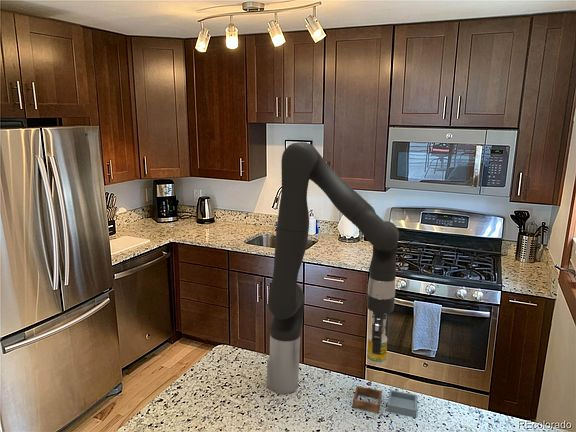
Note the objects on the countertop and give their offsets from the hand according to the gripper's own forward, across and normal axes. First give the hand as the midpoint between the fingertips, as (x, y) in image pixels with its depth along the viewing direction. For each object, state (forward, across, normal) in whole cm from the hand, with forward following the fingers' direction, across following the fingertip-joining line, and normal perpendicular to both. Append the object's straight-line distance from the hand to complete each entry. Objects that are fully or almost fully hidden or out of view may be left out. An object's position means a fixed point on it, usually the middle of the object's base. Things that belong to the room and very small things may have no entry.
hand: (377, 348), depth 126 cm
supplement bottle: (+4, 0, 0) cm, 4 cm away
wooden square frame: (+18, 0, -2) cm, 18 cm away
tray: (+18, -2, +8) cm, 20 cm away
